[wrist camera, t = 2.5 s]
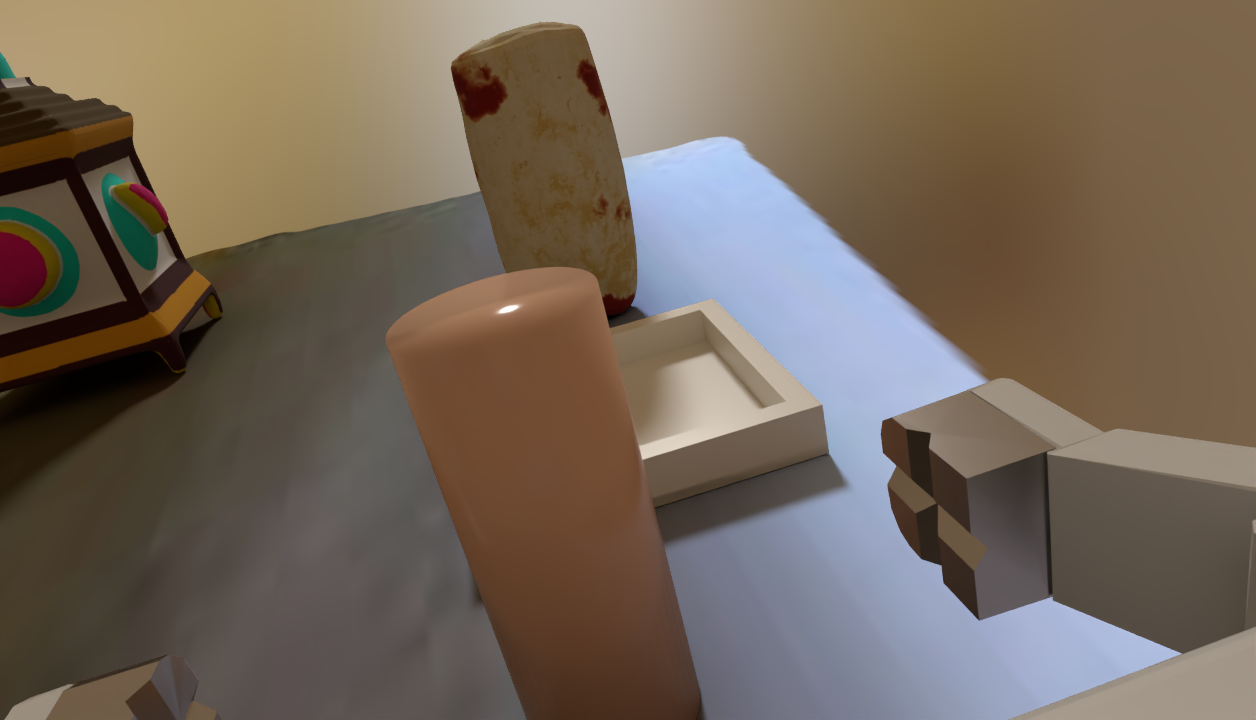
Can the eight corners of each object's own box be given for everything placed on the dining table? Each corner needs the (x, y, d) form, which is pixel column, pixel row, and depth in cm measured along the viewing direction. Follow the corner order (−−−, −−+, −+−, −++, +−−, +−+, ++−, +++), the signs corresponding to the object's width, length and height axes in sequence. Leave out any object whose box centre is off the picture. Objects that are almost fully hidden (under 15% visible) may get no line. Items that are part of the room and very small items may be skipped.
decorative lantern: (44, 362, 83) (-130, 55, 71) (241, 306, 86) (107, 3, 74) (-55, 449, 65) (-311, 57, 53) (200, 374, 68) (12, -13, 56)
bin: (482, 561, 35) (464, 513, 34) (471, 408, 49) (459, 371, 48) (829, 453, 37) (822, 404, 36) (720, 335, 51) (713, 298, 50)
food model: (522, 349, 56) (431, 48, 48) (523, 317, 63) (443, 45, 55) (659, 315, 57) (591, 9, 49) (646, 286, 63) (584, 11, 55)
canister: (542, 807, 23) (377, 378, 18) (525, 672, 28) (392, 304, 23) (722, 745, 24) (616, 310, 18) (675, 622, 29) (580, 252, 23)
